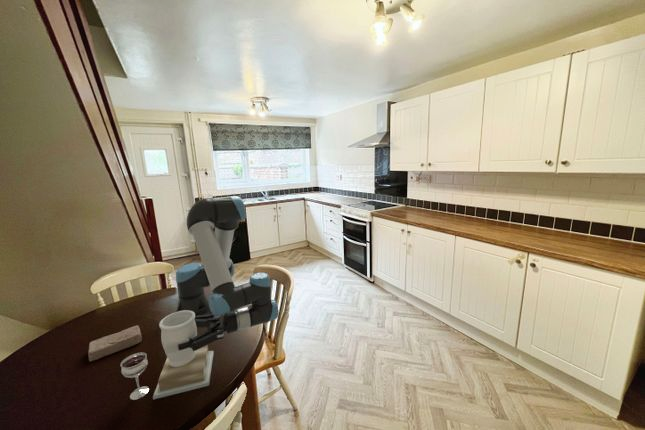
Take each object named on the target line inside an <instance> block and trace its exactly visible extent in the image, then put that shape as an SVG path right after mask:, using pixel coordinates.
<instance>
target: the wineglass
mask: <svg viewBox="0 0 645 430" xmlns="http://www.w3.org/2000/svg"><path fill="white" fill-rule="evenodd" d="M148 364H149V361H148V357H147V353H146V352H142V351H141V352H137V353H133V354H131V355H129V356H126V357H125V358H124V359H123V360H122V361H121V363H120V367H121V371H120V373H121V374H122V375H123V377H125V378H129V379H130V378H131V379H133V378H135V382H136V387H137V388H136V389H134V390H133V391H132V392H131V393H130V395H129V398H130V400H133V401H135V400H138V399H141V398H143V397H145V396H146V395H147V394H148V392H149V390H150V388H149V386H146V385H145V386H140V380H139V376H140V375H142V374H143V373H144V372H145V370H146V368H147V366H148Z"/></svg>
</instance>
